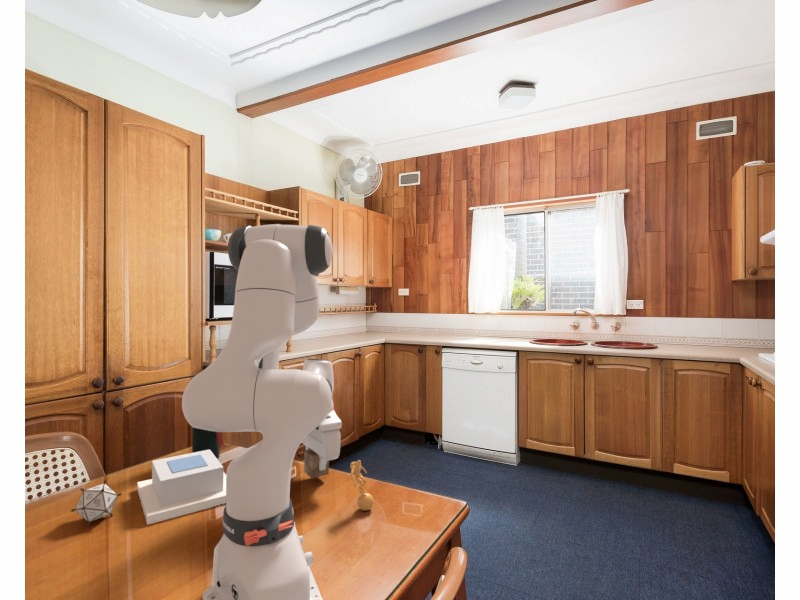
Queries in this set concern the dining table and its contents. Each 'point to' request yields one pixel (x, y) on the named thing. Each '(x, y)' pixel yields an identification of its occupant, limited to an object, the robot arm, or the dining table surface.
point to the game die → (96, 502)
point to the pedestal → (182, 486)
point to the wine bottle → (206, 435)
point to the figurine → (361, 487)
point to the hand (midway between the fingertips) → (316, 465)
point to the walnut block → (313, 465)
